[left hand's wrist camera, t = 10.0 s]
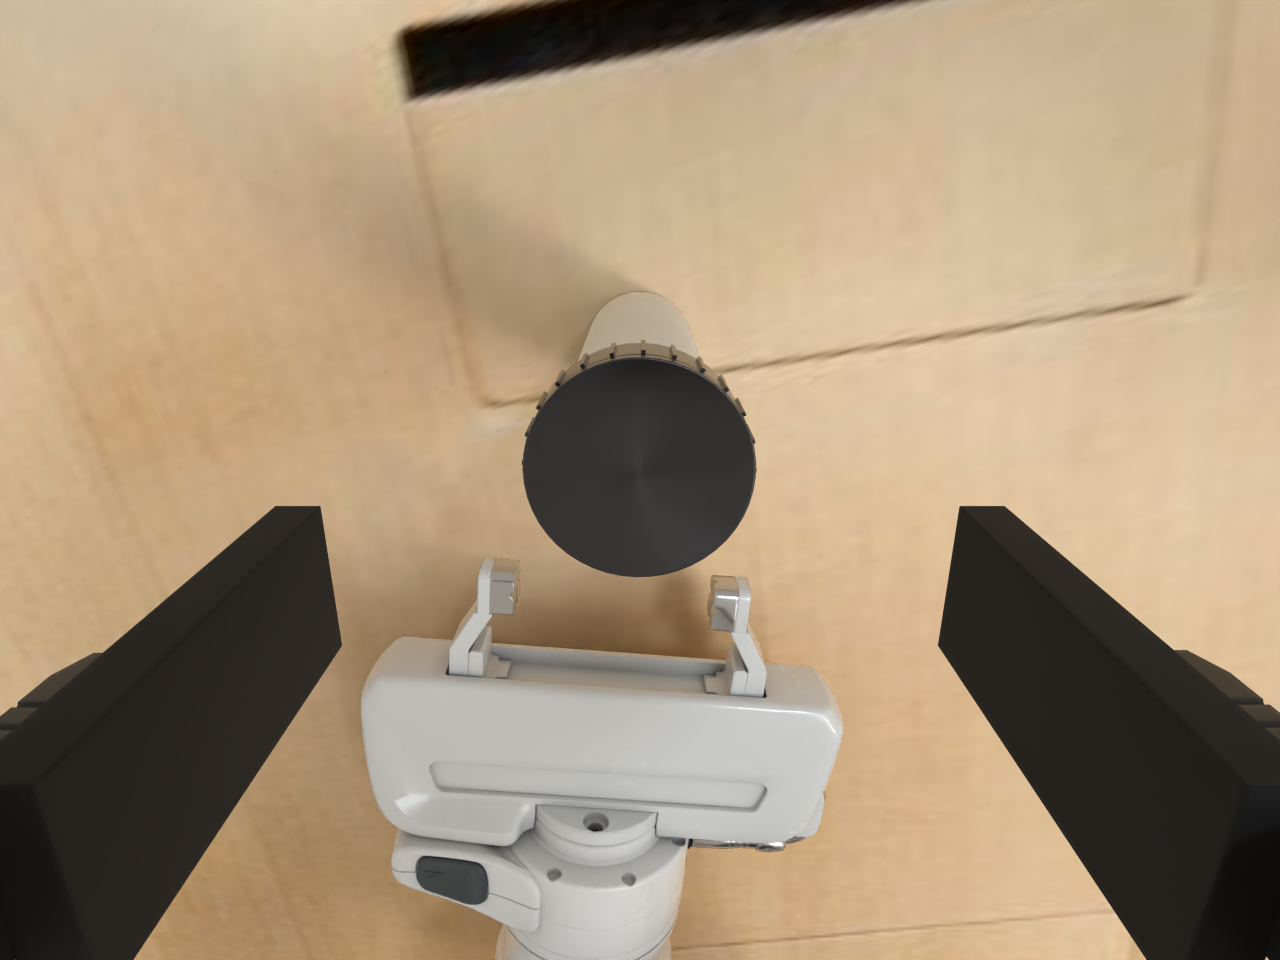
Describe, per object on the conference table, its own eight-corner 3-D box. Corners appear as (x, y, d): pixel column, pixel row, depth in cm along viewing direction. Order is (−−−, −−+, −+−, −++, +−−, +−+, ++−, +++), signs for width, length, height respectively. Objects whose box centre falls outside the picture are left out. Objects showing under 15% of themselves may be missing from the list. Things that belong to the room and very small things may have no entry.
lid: (690, 577, 21) (694, 612, 20) (499, 498, 21) (485, 527, 19) (787, 396, 20) (801, 415, 18) (581, 301, 19) (575, 313, 17)
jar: (664, 410, 35) (683, 578, 20) (571, 369, 35) (516, 510, 19) (708, 318, 34) (767, 421, 18) (613, 273, 33) (589, 342, 18)
